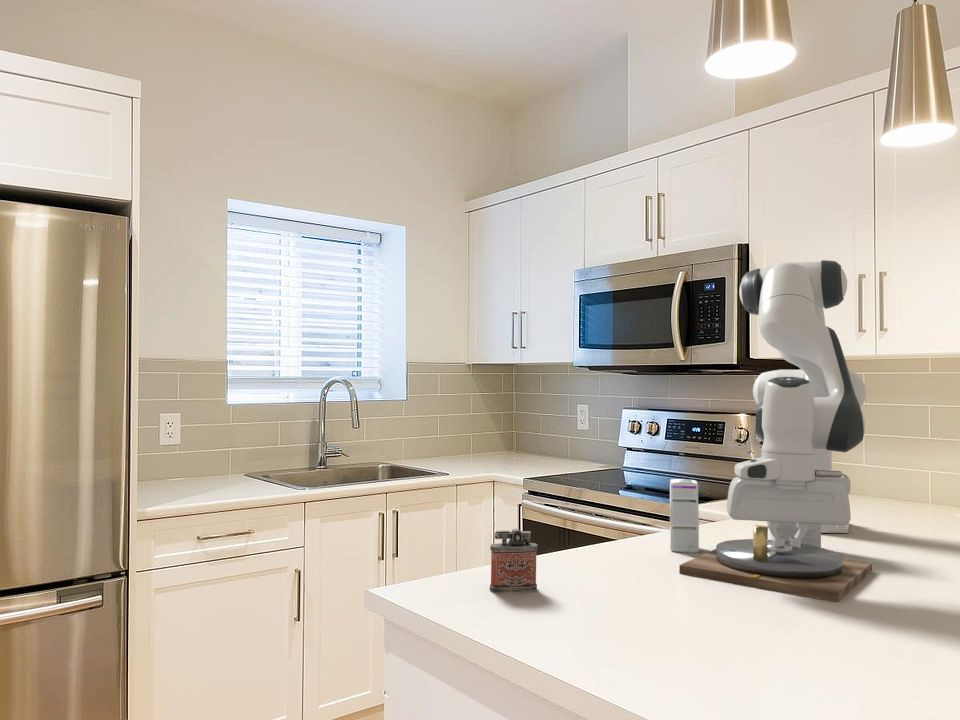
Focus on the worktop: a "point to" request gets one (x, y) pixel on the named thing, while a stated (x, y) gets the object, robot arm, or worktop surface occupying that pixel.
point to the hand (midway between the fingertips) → (787, 547)
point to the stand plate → (781, 578)
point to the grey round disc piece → (778, 557)
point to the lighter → (513, 563)
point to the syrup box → (684, 516)
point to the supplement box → (790, 530)
